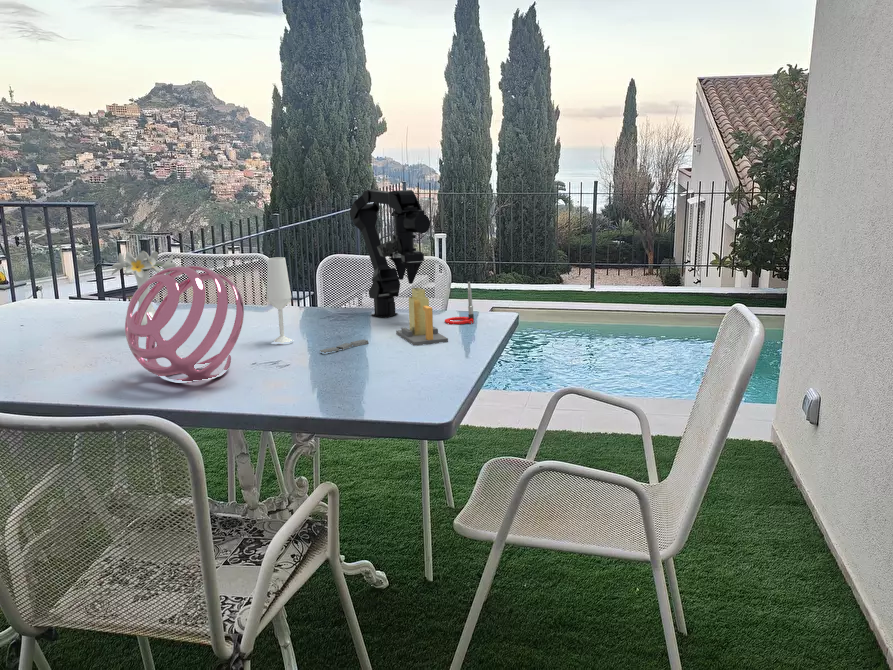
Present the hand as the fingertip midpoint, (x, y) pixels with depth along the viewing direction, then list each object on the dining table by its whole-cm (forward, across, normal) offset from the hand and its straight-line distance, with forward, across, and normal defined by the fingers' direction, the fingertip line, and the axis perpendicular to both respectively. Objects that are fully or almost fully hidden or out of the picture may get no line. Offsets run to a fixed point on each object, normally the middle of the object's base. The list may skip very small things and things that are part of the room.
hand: (405, 281), depth 225 cm
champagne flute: (+13, +10, -41) cm, 44 cm away
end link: (+12, +21, -3) cm, 24 cm away
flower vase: (+13, -23, -76) cm, 80 cm away
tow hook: (+13, +7, +15) cm, 21 cm away
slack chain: (+13, +24, -27) cm, 38 cm away
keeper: (+13, +22, -3) cm, 26 cm away
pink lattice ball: (+13, +37, -68) cm, 78 cm away
